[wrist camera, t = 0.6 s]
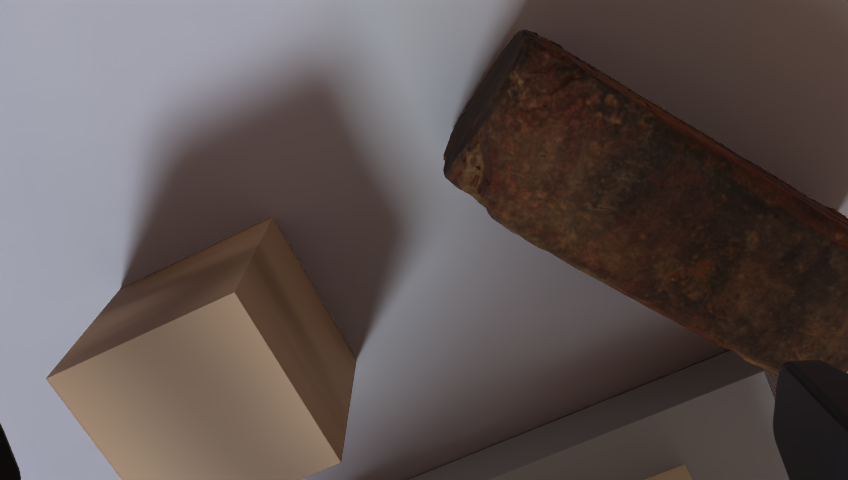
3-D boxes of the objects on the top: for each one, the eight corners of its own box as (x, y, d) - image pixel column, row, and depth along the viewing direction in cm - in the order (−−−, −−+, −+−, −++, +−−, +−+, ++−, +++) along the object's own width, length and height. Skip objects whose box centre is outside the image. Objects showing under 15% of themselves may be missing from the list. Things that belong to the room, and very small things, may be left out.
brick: (838, 209, 22) (939, 276, 18) (750, 321, 24) (825, 409, 19) (514, 15, 21) (539, 37, 16) (437, 147, 22) (441, 201, 17)
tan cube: (212, 421, 25) (163, 535, 20) (121, 287, 23) (46, 378, 18) (356, 358, 24) (340, 463, 19) (273, 215, 22) (234, 292, 18)
